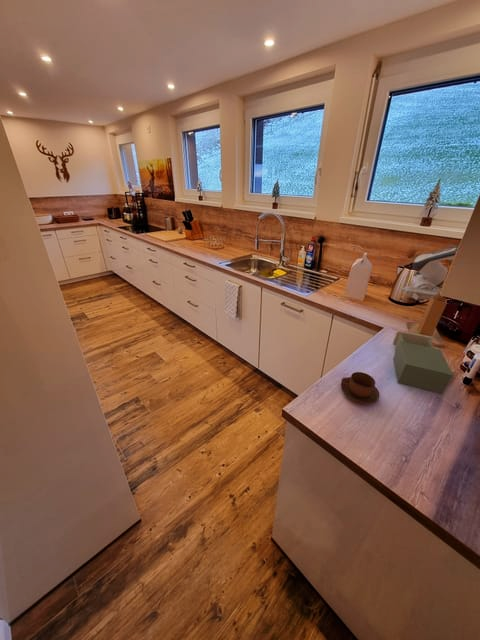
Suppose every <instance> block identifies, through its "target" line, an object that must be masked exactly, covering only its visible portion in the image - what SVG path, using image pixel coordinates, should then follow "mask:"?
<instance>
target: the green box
mask: <svg viewBox="0 0 480 640" xmlns="http://www.w3.org/2000/svg"><path fill="white" fill-rule="evenodd" d="M392 360H393V361H392V362H393V365H394V370H395V371H394V372H395V376H396V380H397V384H399V385H403V386H407V387H411V388H414V389H415V388H416V389H419V390H423V391H426V392H430V393H435V394H438V395H443V394H444V392H445V391H446V389H447V387H448V385H449V383H450V382H451V380H452V378H453V376H454V373H453V372H452V370H451V367H450V366H449V364H448V361H447V359H446V358H445V355H444V354H443V351H442V349H439V348H435V347H434V348H430V347H426V346H421V345H416V344H411V343H406V342H401V341H400V342H399V345H398V348H397V350H396V349H395V353H394V356H393V358H392Z"/></svg>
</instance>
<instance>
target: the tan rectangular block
mask: <svg viewBox="0 0 480 640" xmlns="http://www.w3.org/2000/svg"><path fill="white" fill-rule="evenodd" d="M447 304H448V303H447V301H446V298H443V297H441V296H440V293H437V294H435V295H434V296H431V298H430V301H429V300H428V303H427V305H426V308H425V309H424V313H423V314H422V317H421V320H420V322H419V327H418V331H419V333H420V334H424V335H429V336H432V335H433V333H434V330H435V328H436V329H437V326H438V324H439V322H440V319H441V317H442V315H443V313H444V311H445V308H446V306H447Z"/></svg>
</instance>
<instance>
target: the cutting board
mask: <svg viewBox="0 0 480 640" xmlns="http://www.w3.org/2000/svg"><path fill="white" fill-rule="evenodd" d="M419 324H420V322H419V323H418V322H412V321H407V322H406V327H407V329H408V332H411V333H416V334H420V333H419V331H418V327H419ZM420 335H424V334H420ZM425 336H429V335H425ZM430 337H431V343H432V345H433V347H436V348H441V349H444V348H445V347H446V344H445V342H444V341H443V339H442V337H441V335H440V333H439V331H438V329H437V327H436V328H435V330H434V333H433V335H432V336H430Z"/></svg>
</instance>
